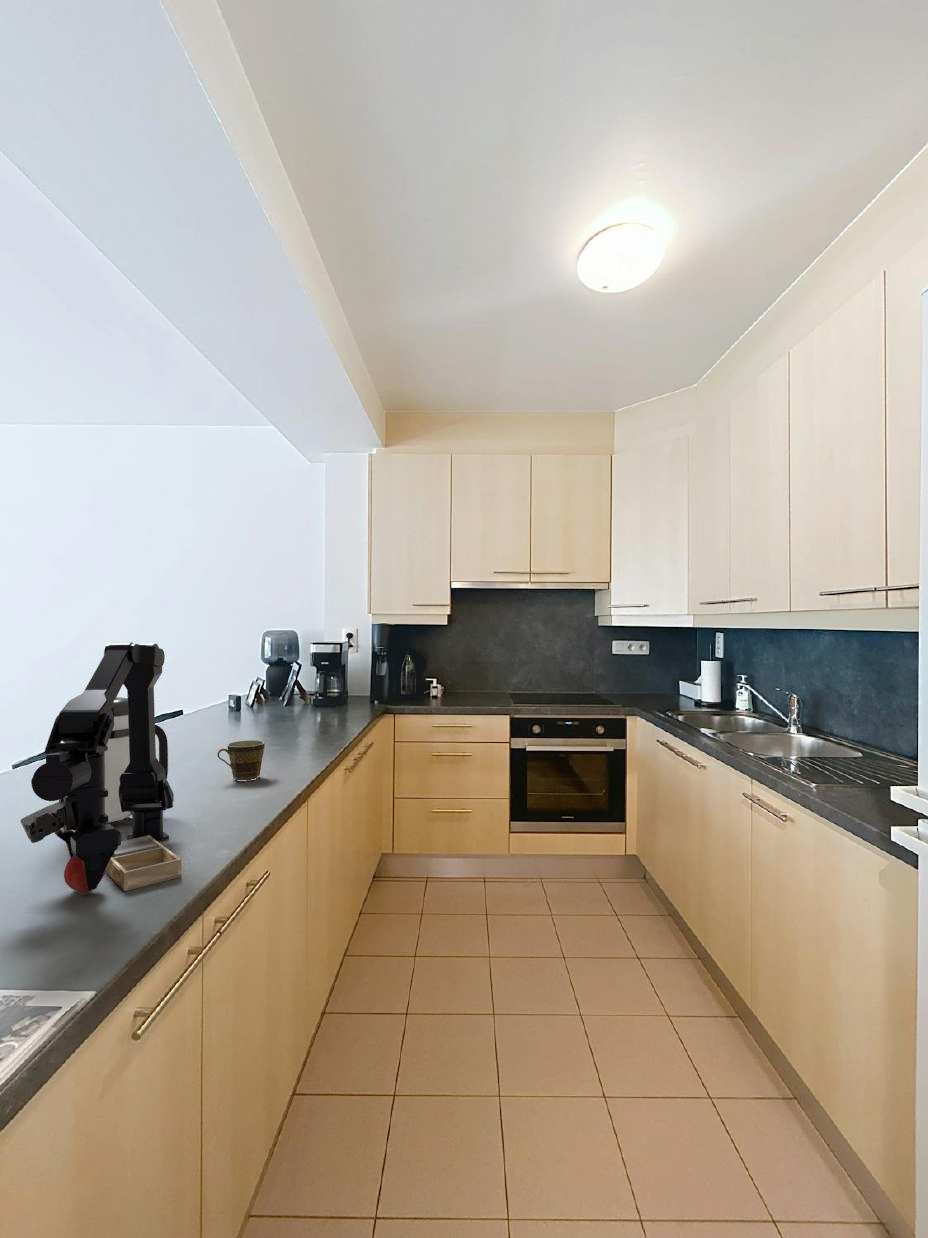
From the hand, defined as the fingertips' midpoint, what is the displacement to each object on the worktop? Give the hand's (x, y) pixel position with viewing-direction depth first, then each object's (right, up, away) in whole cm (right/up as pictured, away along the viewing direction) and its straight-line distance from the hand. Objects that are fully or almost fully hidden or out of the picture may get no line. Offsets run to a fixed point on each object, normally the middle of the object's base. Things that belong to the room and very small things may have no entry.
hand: (85, 881), depth 106 cm
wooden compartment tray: (+3, -2, +10) cm, 11 cm away
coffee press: (-16, -3, +39) cm, 42 cm away
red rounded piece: (0, -2, 0) cm, 2 cm away
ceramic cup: (-1, -3, +77) cm, 77 cm away
